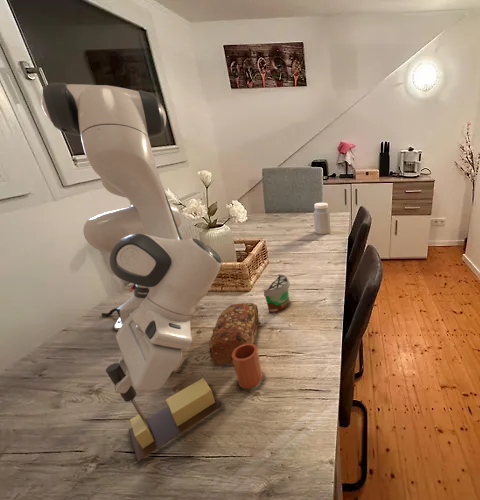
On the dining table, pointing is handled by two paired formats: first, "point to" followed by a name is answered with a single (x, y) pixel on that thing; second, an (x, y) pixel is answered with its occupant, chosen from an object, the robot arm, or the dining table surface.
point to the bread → (233, 331)
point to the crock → (247, 365)
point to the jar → (321, 218)
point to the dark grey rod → (118, 373)
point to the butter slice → (141, 431)
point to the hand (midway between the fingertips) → (117, 385)
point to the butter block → (190, 401)
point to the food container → (278, 294)
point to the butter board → (167, 428)
